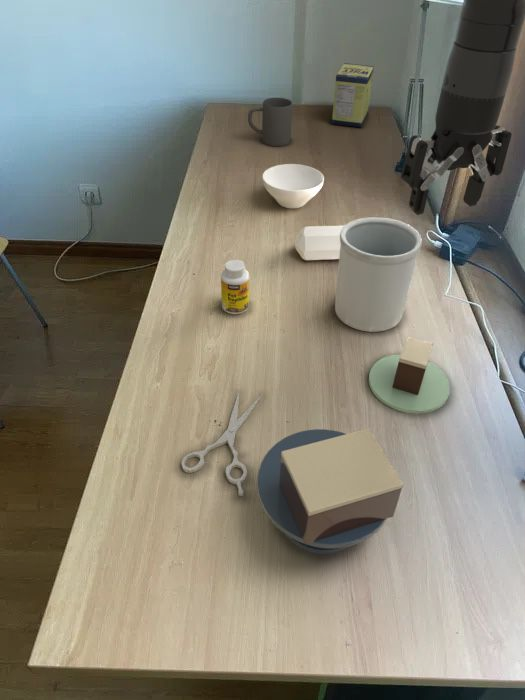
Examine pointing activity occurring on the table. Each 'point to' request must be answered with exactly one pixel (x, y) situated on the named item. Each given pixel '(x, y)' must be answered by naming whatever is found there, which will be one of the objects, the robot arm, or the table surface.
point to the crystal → (319, 242)
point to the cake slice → (412, 365)
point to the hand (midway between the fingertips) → (443, 207)
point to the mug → (274, 121)
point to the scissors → (225, 438)
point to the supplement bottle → (235, 287)
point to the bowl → (292, 184)
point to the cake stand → (328, 488)
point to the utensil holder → (375, 272)
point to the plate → (426, 401)
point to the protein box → (352, 94)
